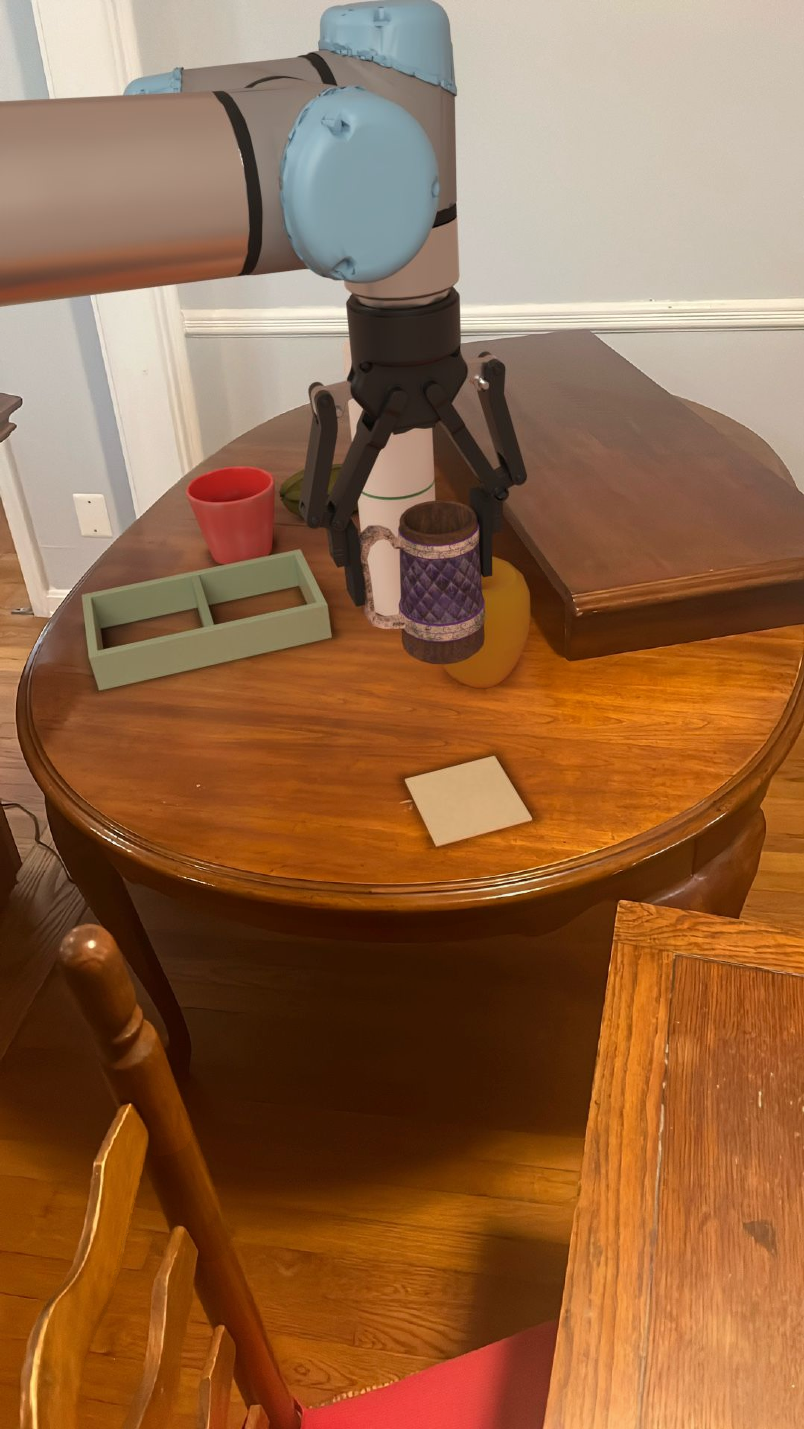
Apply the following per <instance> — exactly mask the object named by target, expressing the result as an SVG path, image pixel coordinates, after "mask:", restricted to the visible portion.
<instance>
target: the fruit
mask: <svg viewBox="0 0 804 1429" xmlns="http://www.w3.org/2000/svg"><path fill="white" fill-rule="evenodd" d="M342 464H343V463H335V464H332V469H331V475H330V481H329V487H328V493H327V499H328V497H329V495H330V492H331V490H332V488H333V485H334V483H335V481H336V478H337V476H338V474H339V471H340V469H341V467H342ZM304 470H305V469H302V470H300V471H298V472H296V473H294V474H293V475H291V476H290V477H288V478H287V479H286V480H285V481H283V482H282V483H281V485H280V488H279V491H278V493H279V498H280V501H281V502H282V504H283V505H284V507H285V508H286V509H287V510H288V511H289V512H290V513H292V514H294V515H296V516H298V517H301V518H303V516H302V515H301V513H300V511H299V502H300V496H301V489H302V483H303V476H304ZM327 499H326V502H327ZM357 511H359V509H358V502H357V504H356V507H355V509H354V511H353V512H357Z"/></svg>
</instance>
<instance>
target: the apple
mask: <svg viewBox="0 0 804 1429" xmlns="http://www.w3.org/2000/svg"><path fill="white" fill-rule="evenodd" d="M481 583H482V595H483V597H484V600H485V614H486V616H485V622H484V633H485V639H484V645H483V646H482V647H481V649H480V650H479V651H478V652H477V653H476V654H474V655H473V656H471V657H469V658H468V659H466V660H463V661H460V662H457V663H452V664H445V665H443V664H440V665H441V667H442V668H443V669H444V671H445V672H446V673H447V674H448V675H449V677H451V678H453V679H455V680H456V681H457V682H459V683H461V684H463V685H465V686H468V687H471V688H472V689H489V688H492V687H494V686H497V685H500V684H502V682H503V681H505V680H506V679H507V678H508V677H509V676H510V675H511V673H512V671H513V670H514V669H515V667H516V666H517V664H518V663H519V660H520V658H521V656H522V654H523V652H524V650H525V647H526V644H527V641H528V637H529V634H530V626H531V625H530V624H531V593H530V589H529V587H528V585H527V582H526V580H525V576H524V575H523V573H522V572H520V571H519V570H518V569H517V568H516V567H515V566H513V564H511V563H510V562H509V561H508V560H507V561H506V560H504V559H502V558H499V557H496V556H492V576H489V577H485V578H484V577H483V576H482V575H481Z"/></svg>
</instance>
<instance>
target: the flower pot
mask: <svg viewBox="0 0 804 1429" xmlns="http://www.w3.org/2000/svg"><path fill="white" fill-rule="evenodd" d="M275 483H276V482H275V478H274V476H273V475H272V474H271V473H270V471H269V472H268V471H267V470H265V469H262V468H259V467H255V466H254V467H253V466H229V467H227V466H226V467H222V468H218V469H214V470H211V471H208V472H205V473H202V474H201V475H199V476H197V477H195V478H194V479H192V480H191V481H190V482H189V483H188V485H187V486H186V489H185V494H186V496H187V499H188V502H189V504H190V507H191V509H192V512H193V514H194V516H195V519H196V521H197V524H198V526H199V529H200V532H201V534H202V536H203V538H204V541H205V543H206V545H207V548H208V549H209V552H210V554H211V557H212V559H213V560H214V561H215V562H216V563H218V564H220V565H227V564H231V563H236V562H241V561H246V560H251V559H255V558H260V557H265V556H270V555H271V552H272V550H273V539H274V526H275V523H274V522H275V498H276V497H275V494H276V492H275V491H276V490H275V488H276V487H275Z"/></svg>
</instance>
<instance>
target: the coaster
mask: <svg viewBox="0 0 804 1429" xmlns="http://www.w3.org/2000/svg"><path fill="white" fill-rule="evenodd" d="M404 782H405V784H406V786H407V788H408V791H409V793H410V795H411V797H412V799H413V801H414V803H415V805H416V808H417V810H418V812H419V814H420V817H421V818H422V820H423V822H424V824H425V826H426V828H427V830H428V833H429V835H430V837H431V839H432V842H433V843H434V845H435V847H436V848H437V847H441V846H444V845H447V844H451V843H454V842H459V841H461V840H465V839H466V840H467V839H469V838H473V837H476V836H479V835H480V836H481V835H484V834H487V833H491V832H494V831H495V832H496V831H498V830H502V829H504V828H505V829H506V828H509V827H513V826H516V825H519V824H520V825H521V824H523V823H528V822H531V821H533V817H532V815H531V814H530V811H528V808H527V807H526V805H525V804H524V802H523V800H522V799H521V797H520V795H519V794H518V792H517V790H516V788H515V787H514V785H513V784H512V782H511V780H510V779H509V777H508V775H507V773H506V772H505V770H504V769H503V767H502V766H501V764H500V762H499V761H498V759H497V757H496V755H491V756H487V757H484V758H480V759H476V760H473V761H469V762H464V763H462V764H457V765H452V766H449V767H446V768H442V769H438V770H434V771H430V772H426V773H422V774H419V775H415V776H411V777H407V778H405V779H404Z"/></svg>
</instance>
